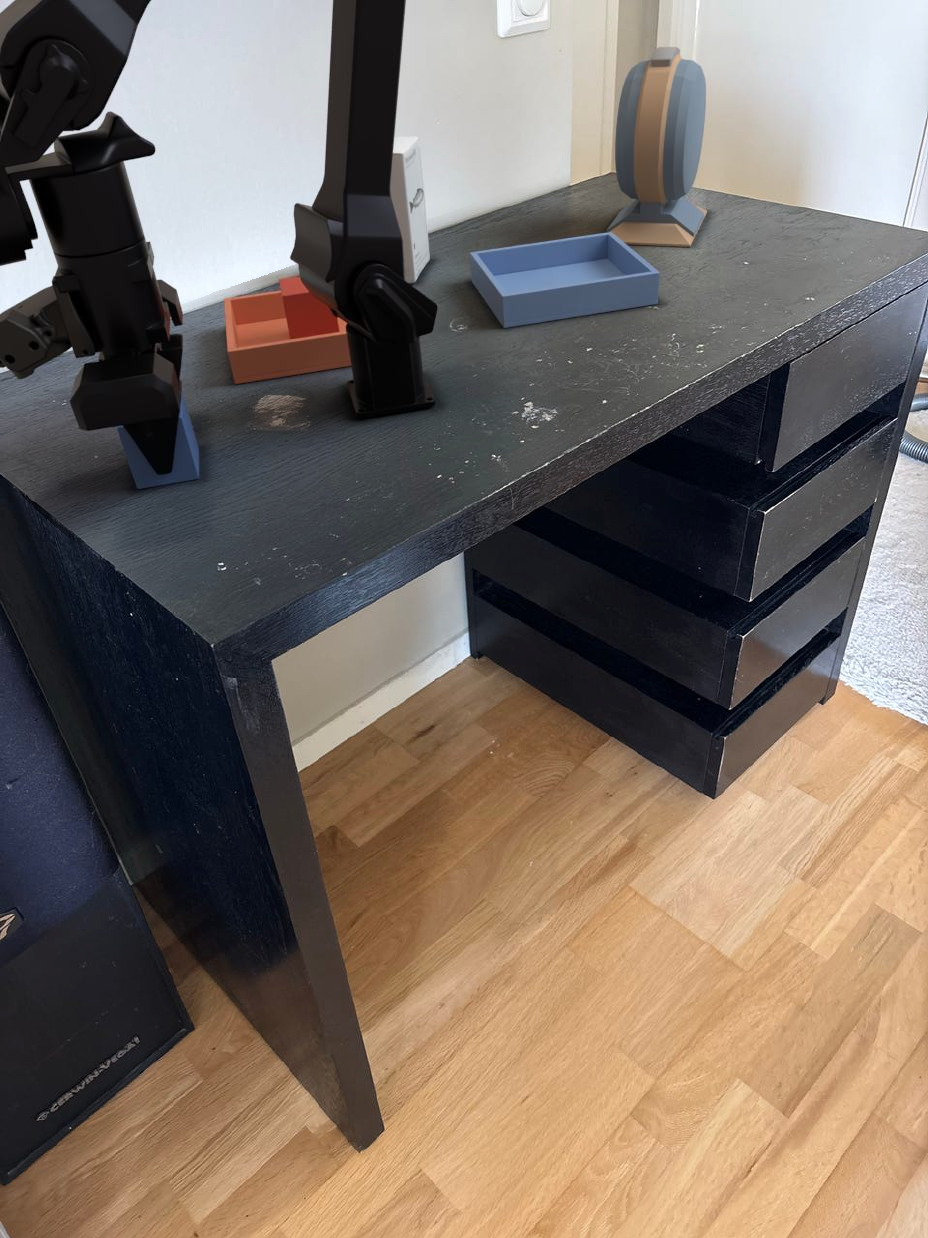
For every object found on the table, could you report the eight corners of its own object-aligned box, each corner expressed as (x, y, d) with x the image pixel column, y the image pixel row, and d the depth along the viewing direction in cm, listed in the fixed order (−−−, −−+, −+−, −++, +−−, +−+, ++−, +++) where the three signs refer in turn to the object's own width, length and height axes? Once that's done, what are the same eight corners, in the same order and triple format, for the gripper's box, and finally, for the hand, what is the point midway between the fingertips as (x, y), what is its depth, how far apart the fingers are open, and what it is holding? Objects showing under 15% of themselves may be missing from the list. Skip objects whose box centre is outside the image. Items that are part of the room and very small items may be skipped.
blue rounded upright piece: (626, 207, 112) (633, 36, 101) (708, 209, 109) (724, 34, 98) (598, 246, 102) (603, 61, 91) (688, 249, 99) (704, 59, 88)
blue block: (199, 478, 68) (181, 417, 65) (137, 489, 68) (116, 427, 65) (199, 450, 72) (182, 390, 69) (140, 460, 71) (120, 400, 68)
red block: (341, 342, 85) (332, 288, 82) (292, 350, 84) (282, 295, 81) (335, 324, 88) (327, 271, 85) (288, 331, 88) (278, 278, 85)
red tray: (406, 357, 83) (402, 324, 81) (235, 384, 81) (227, 351, 79) (383, 305, 93) (379, 275, 91) (230, 328, 91) (223, 298, 89)
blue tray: (657, 304, 88) (660, 272, 86) (503, 328, 86) (502, 296, 84) (610, 260, 98) (611, 231, 96) (471, 281, 96) (469, 252, 94)
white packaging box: (416, 284, 97) (403, 152, 89) (349, 284, 98) (329, 154, 90) (432, 260, 102) (421, 134, 94) (368, 260, 104) (351, 136, 96)
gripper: (-8, 219, 65) (67, 419, 75) (-64, 313, 51) (38, 545, 61) (153, 198, 67) (206, 397, 77) (141, 283, 52) (208, 515, 62)
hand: (165, 457), depth 69 cm, fingers closed on blue block, 4 cm apart
